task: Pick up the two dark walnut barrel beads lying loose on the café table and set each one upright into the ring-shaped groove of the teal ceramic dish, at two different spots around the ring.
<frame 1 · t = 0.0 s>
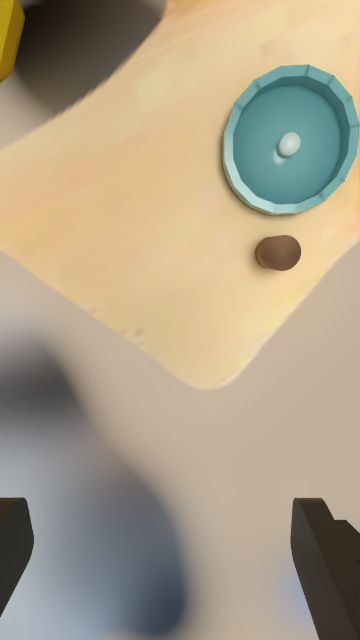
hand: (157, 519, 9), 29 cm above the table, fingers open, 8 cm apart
groove tray: (283, 150, 32), on the table
walnut bead 1: (270, 252, 35), on the table
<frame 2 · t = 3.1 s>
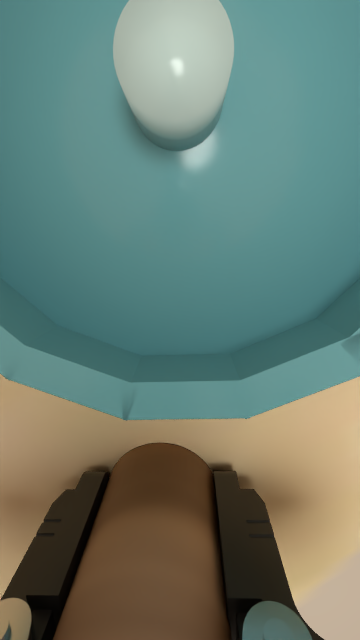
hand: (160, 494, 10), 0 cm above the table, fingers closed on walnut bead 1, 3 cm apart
groove tray: (178, 116, 7), on the table
walnut bead 1: (162, 489, 10), on the table, touching gripper
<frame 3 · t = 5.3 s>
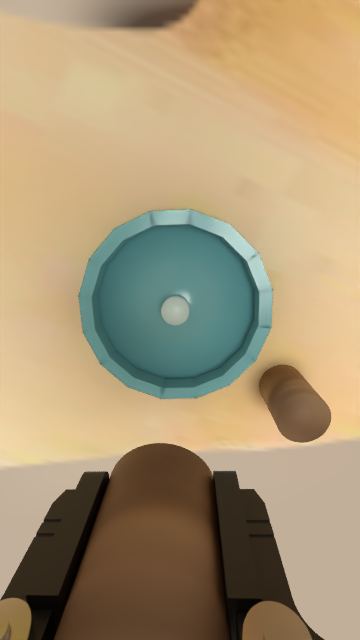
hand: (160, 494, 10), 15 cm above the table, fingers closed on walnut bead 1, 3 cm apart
walnut bead 2: (281, 385, 24), on the table
groove tray: (176, 305, 23), on the table
walnut bead 1: (162, 489, 10), point 14 cm above the table, touching gripper
when the fingers open (2 cm above the table, at t = 7.8 s): walnut bead 1 drops 1 cm, resting on groove tray.
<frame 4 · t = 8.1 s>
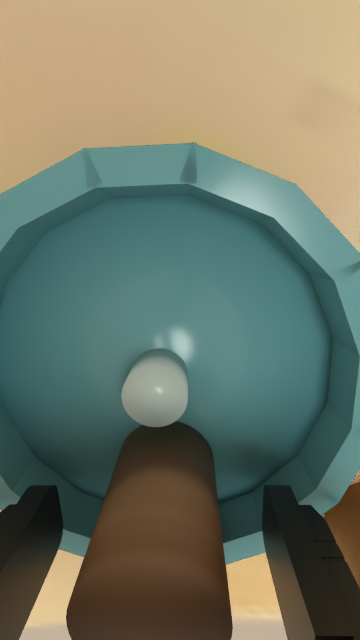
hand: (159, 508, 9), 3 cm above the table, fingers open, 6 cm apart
groove tray: (161, 366, 11), on the table
walnut bead 1: (166, 461, 11), point 1 cm above the table, touching groove tray
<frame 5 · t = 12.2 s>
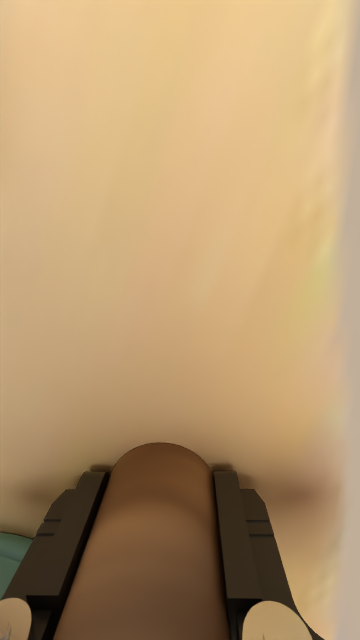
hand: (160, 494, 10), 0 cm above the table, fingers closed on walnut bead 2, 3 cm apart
walnut bead 2: (162, 489, 10), on the table, touching gripper
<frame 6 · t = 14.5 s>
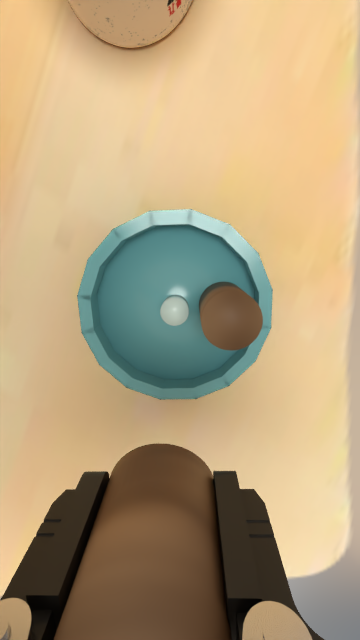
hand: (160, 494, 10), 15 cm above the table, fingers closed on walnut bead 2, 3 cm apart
walnut bead 2: (162, 489, 10), point 14 cm above the table, touching gripper
groove tray: (175, 305, 23), on the table
walnut bead 1: (222, 305, 22), point 1 cm above the table, touching groove tray
when the fingers open (2 cm above the table, at t = 16.9 s): walnut bead 2 drops 1 cm, resting on groove tray.
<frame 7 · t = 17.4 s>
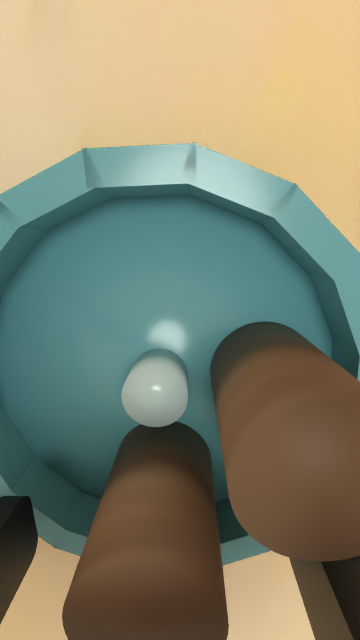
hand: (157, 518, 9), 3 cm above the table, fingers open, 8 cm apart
walnut bead 2: (164, 461, 11), point 1 cm above the table, touching groove tray
groove tray: (161, 366, 11), on the table
walnut bead 1: (261, 371, 10), point 1 cm above the table, touching groove tray
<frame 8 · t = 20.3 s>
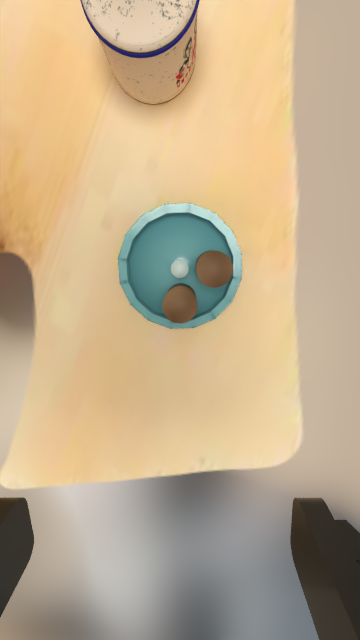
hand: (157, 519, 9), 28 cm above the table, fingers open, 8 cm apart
walnut bead 2: (181, 298, 35), point 1 cm above the table, touching groove tray
groove tray: (180, 267, 35), on the table
walnut bead 1: (211, 266, 34), point 1 cm above the table, touching groove tray
teacup with lid: (153, 41, 30), on the table
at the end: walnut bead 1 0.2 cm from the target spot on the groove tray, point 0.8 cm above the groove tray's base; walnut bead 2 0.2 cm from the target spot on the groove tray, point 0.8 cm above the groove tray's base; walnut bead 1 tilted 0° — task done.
